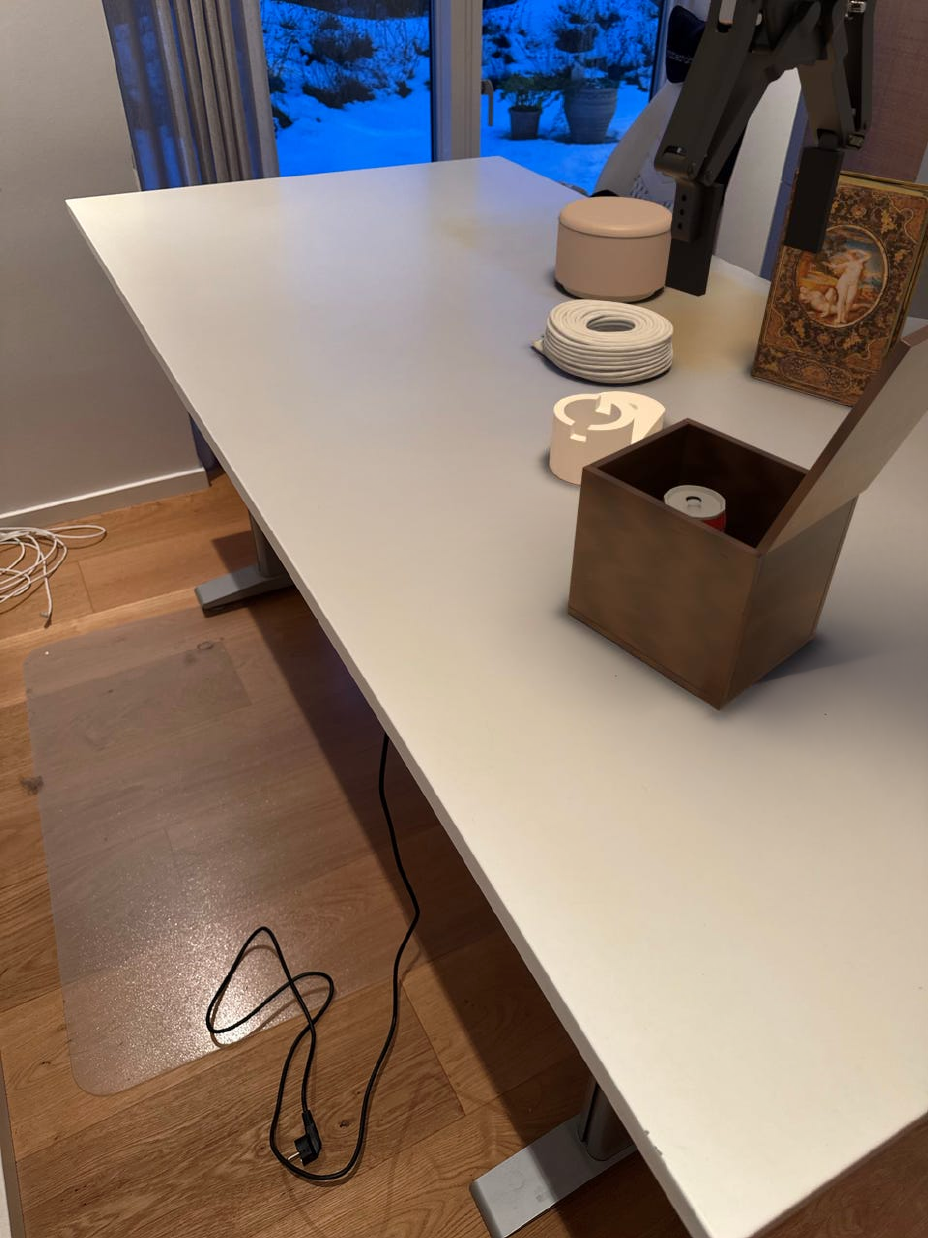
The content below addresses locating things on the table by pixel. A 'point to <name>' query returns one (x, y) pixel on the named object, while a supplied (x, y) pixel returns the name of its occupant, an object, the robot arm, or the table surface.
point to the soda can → (698, 504)
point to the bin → (699, 560)
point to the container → (613, 248)
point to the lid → (860, 440)
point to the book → (845, 290)
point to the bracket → (599, 428)
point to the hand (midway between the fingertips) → (746, 268)
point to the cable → (607, 341)
